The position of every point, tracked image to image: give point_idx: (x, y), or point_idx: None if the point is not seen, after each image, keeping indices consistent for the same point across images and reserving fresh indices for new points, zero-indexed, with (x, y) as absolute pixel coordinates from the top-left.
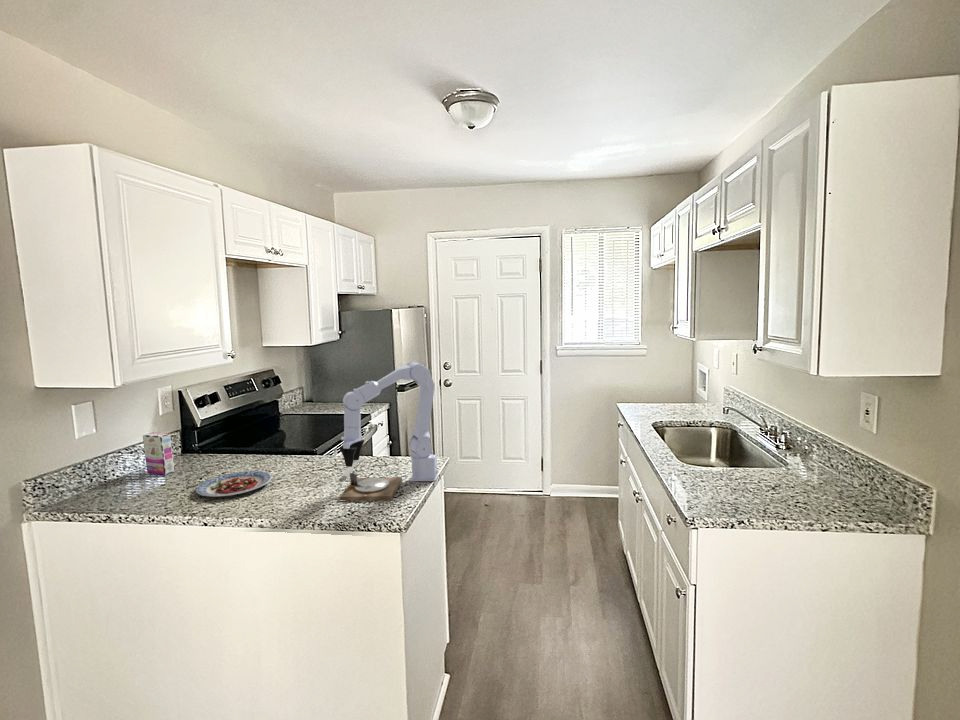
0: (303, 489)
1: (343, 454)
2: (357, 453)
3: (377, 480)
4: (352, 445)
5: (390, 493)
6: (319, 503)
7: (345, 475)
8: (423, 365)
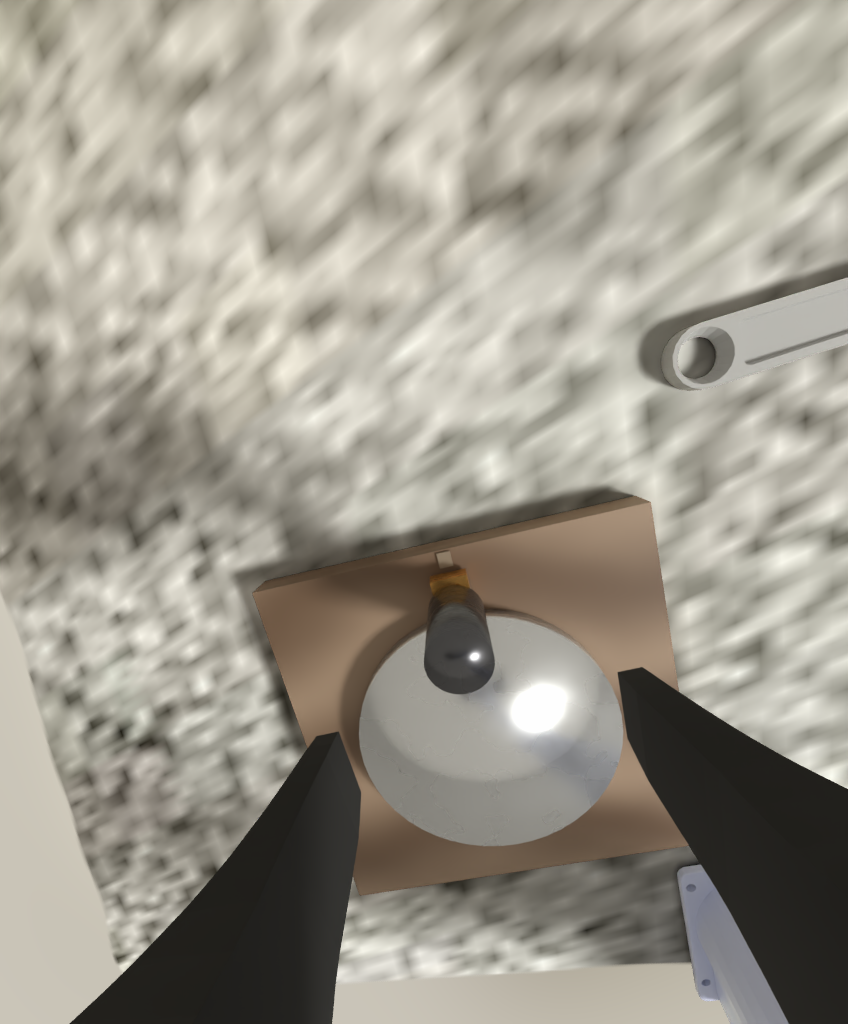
0: (401, 109)
1: (154, 963)
2: (692, 828)
3: (565, 749)
4: (834, 947)
5: (396, 878)
6: (190, 461)
7: (763, 337)
8: None
